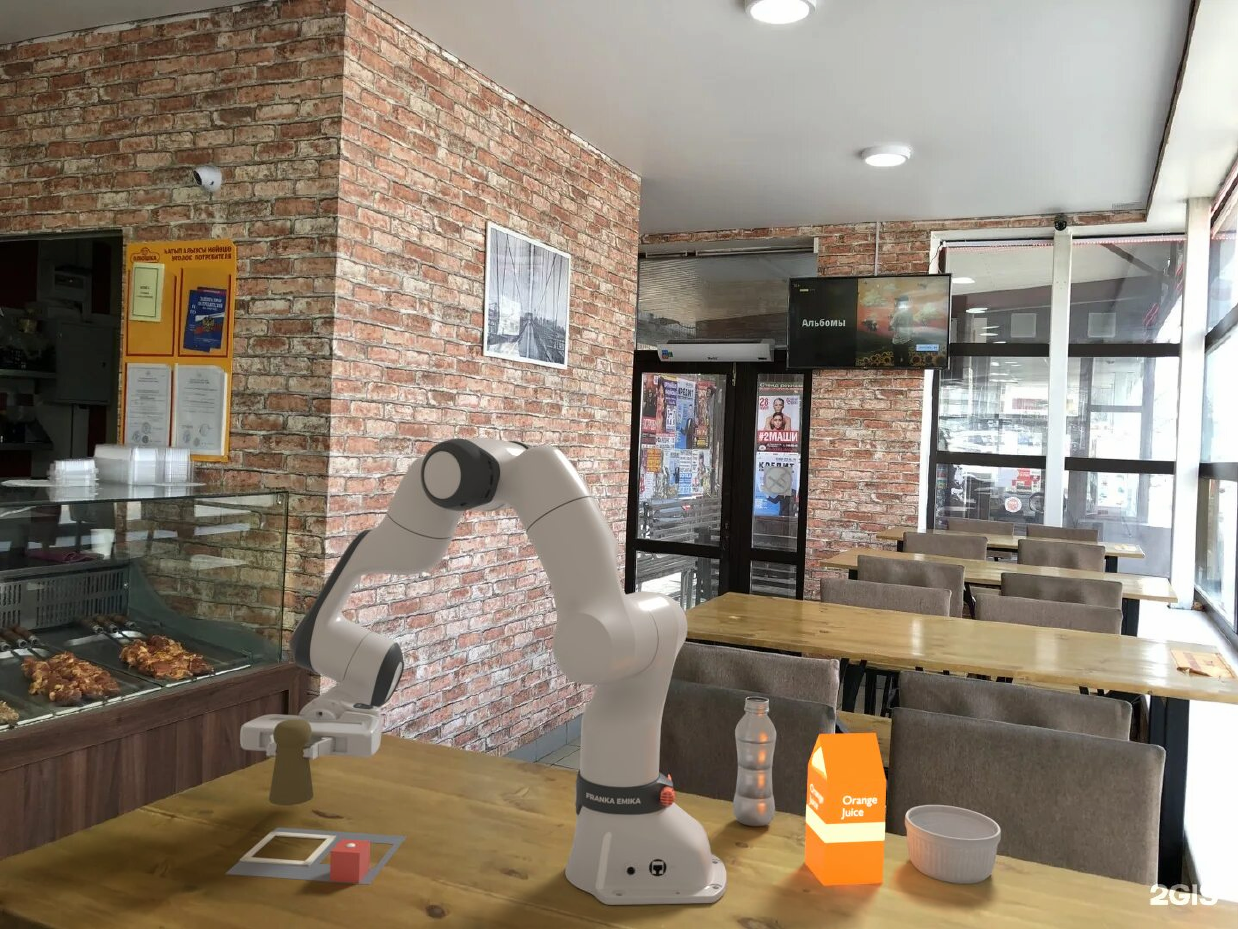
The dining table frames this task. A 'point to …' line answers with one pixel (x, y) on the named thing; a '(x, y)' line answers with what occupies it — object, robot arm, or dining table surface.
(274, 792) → the cork
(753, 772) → the plastic bottle
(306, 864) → the grey and white frame
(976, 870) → the ramekin
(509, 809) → the dining table surface
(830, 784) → the orange juice
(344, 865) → the red cube
